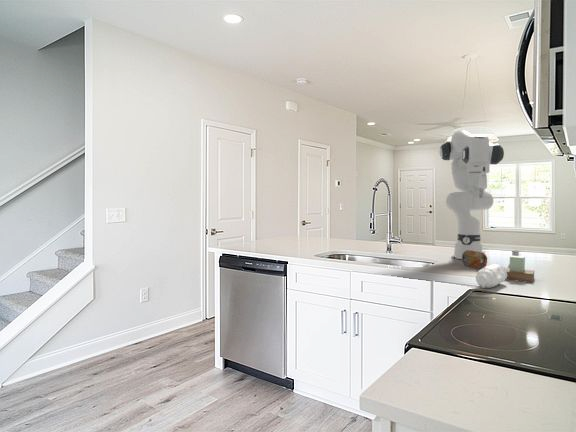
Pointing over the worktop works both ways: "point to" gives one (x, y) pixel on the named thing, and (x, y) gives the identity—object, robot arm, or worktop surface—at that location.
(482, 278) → the white plastic bottle
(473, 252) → the tin
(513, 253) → the flask
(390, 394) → the worktop surface
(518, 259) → the sage block
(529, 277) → the brown block
